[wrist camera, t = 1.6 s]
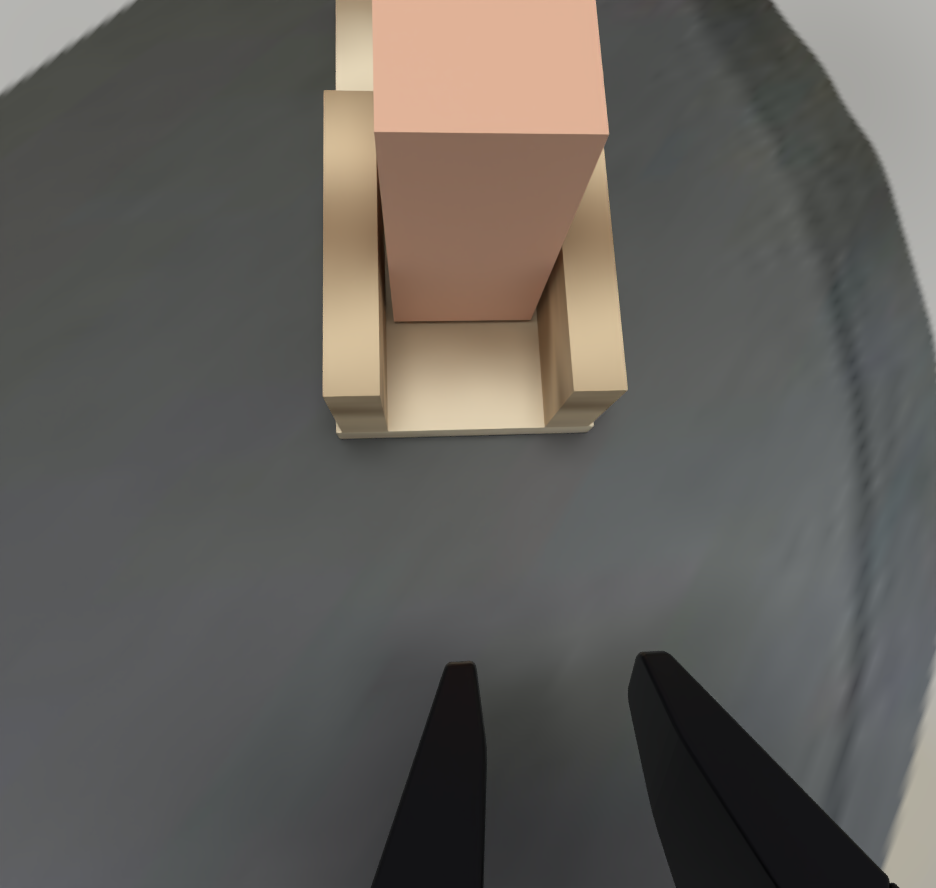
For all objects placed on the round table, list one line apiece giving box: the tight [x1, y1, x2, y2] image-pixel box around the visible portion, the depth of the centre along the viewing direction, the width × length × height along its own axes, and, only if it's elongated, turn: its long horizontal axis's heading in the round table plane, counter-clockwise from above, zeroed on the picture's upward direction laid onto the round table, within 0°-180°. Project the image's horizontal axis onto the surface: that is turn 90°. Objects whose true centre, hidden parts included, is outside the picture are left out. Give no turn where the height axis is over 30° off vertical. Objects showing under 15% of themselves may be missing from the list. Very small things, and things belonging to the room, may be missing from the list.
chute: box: [323, 0, 628, 439], centre depth 23 cm, size 19×9×6 cm, turn 2°
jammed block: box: [372, 0, 609, 322], centre depth 19 cm, size 6×5×10 cm
